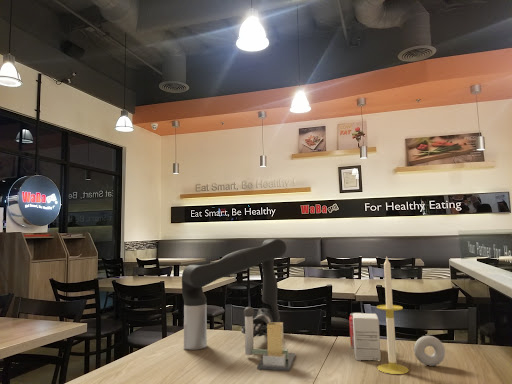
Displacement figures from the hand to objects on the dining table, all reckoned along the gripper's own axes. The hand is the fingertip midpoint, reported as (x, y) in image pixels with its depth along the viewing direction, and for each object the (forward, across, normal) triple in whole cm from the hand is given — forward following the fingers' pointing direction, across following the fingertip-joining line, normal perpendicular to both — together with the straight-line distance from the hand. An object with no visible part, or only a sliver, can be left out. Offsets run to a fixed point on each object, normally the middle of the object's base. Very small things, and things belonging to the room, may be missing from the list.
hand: (251, 335), depth 150 cm
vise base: (+6, +11, +7) cm, 15 cm away
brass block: (+9, +11, +6) cm, 15 cm away
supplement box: (-5, +43, +8) cm, 44 cm away
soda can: (-17, +40, +8) cm, 44 cm away
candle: (+7, +50, +8) cm, 51 cm away
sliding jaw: (+4, +6, +6) cm, 10 cm away
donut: (+2, +63, +8) cm, 63 cm away
